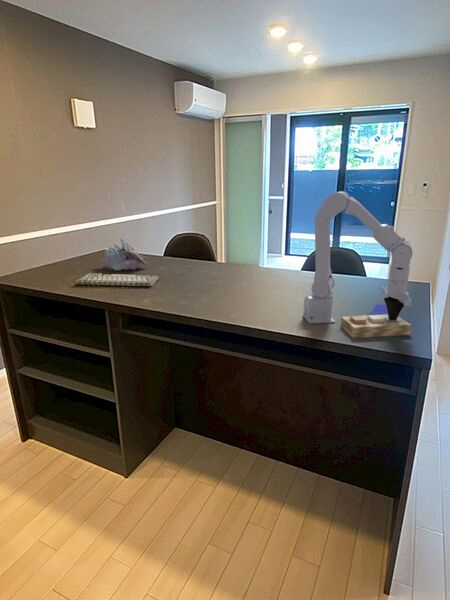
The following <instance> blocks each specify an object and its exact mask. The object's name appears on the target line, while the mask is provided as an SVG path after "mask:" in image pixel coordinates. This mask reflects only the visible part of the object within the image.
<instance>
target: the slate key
mask: <svg viewBox="0 0 450 600" xmlns="http://www.w3.org/2000/svg"><path fill="white" fill-rule="evenodd" d="M384 319H385V320H387V321H388V322H401V321H400V320H398V319H397V320H390V319H389V318H384Z"/></svg>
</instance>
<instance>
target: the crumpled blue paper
mask: <svg viewBox="0 0 450 600" xmlns="http://www.w3.org/2000/svg"><path fill="white" fill-rule="evenodd" d="M119 239H120V244H121V245H119V243H117V242H116V243H114V245H113V246H114V247H112V246H109V247H108V249H106V250H104V258H105V261H104V264H105V266H106V268H108V270H111V271H113V270H114V272H115V271H116V272H119V271H123V270H125V271H129V270H132V271H135V270H136V269H137V268H139V267H140V264H143V265H145V266H148V264H147V262H146V261H145V260H144V259H143V258H144V257H143V256H144V255H141V254H140V253H139V252H136V251H135V249H134V248H133V247H132V246H130V244H128V243H127V242H126V241H125V240H124V239H123V238H122V237H120V238H119ZM112 269H113V270H112Z"/></svg>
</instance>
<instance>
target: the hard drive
mask: <svg viewBox="0 0 450 600" xmlns="http://www.w3.org/2000/svg"><path fill="white" fill-rule="evenodd" d="M385 314H388V310H387V306H386V304H385V305H383V304H379V303H378V304H377V303H376V304H375V305H374V307H372V309H371V310H370V311H369V314H368V315H385Z"/></svg>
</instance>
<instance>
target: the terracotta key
mask: <svg viewBox="0 0 450 600" xmlns="http://www.w3.org/2000/svg"><path fill="white" fill-rule="evenodd" d="M350 316H351V317H350V321H351V322H352V323H354V324H366V319H365V318H363V317H362V316H363V315H350Z"/></svg>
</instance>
